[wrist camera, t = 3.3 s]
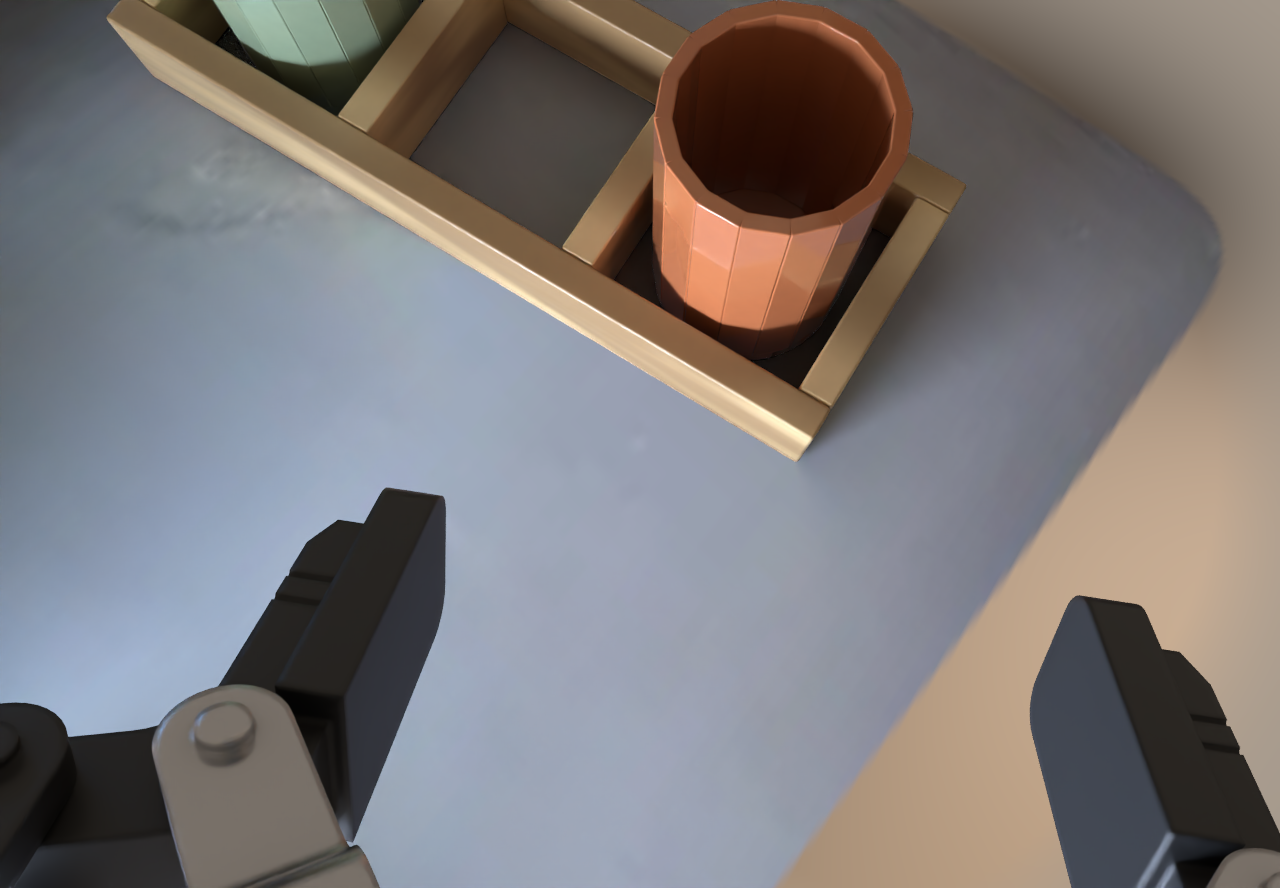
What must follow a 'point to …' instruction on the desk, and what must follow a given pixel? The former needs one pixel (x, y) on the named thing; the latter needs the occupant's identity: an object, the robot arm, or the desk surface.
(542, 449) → the desk surface
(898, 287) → the pod rack
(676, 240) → the brown cylindrical cup
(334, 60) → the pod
